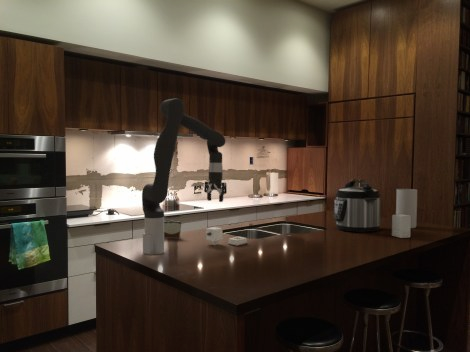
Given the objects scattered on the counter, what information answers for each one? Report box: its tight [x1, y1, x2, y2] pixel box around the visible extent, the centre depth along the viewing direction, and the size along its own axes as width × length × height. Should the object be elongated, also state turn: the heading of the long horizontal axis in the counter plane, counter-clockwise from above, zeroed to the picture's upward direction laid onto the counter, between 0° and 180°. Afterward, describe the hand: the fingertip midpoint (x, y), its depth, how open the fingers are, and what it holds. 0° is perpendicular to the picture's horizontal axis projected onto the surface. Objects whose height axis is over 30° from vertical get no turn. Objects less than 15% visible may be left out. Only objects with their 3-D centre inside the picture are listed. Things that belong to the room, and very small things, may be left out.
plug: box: [205, 226, 223, 246], centre depth 204 cm, size 8×6×8 cm
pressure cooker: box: [333, 179, 381, 233], centre depth 250 cm, size 30×28×32 cm
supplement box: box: [391, 214, 412, 239], centre depth 228 cm, size 7×7×13 cm
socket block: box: [228, 236, 248, 247], centre depth 206 cm, size 8×6×3 cm
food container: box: [164, 218, 183, 239], centre depth 224 cm, size 12×6×10 cm, turn 84°
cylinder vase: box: [395, 188, 418, 229], centre depth 259 cm, size 12×12×25 cm
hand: (215, 201), depth 211 cm, fingers open, 8 cm apart
